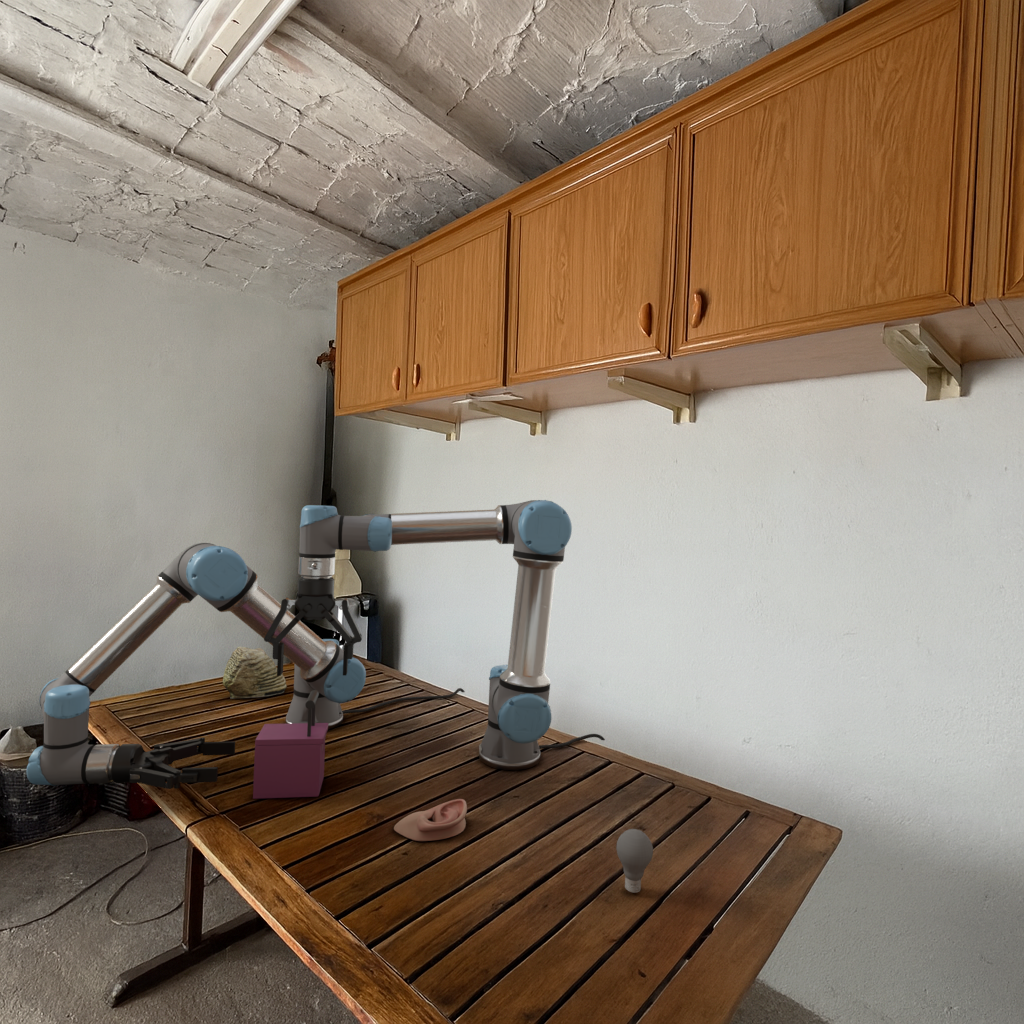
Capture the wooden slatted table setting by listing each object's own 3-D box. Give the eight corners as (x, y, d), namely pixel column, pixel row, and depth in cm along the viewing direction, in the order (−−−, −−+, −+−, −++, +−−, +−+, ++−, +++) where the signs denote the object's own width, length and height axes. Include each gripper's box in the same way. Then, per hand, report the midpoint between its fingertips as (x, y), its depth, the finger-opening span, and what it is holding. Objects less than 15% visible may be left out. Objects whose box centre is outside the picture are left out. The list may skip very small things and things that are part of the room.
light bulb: (610, 879, 108) (613, 822, 108) (644, 879, 109) (647, 822, 109) (619, 902, 102) (622, 840, 102) (655, 901, 103) (658, 840, 103)
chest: (323, 777, 143) (325, 728, 143) (318, 796, 134) (320, 744, 134) (262, 779, 141) (264, 729, 141) (252, 798, 132) (254, 745, 131)
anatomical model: (388, 815, 119) (410, 788, 130) (387, 836, 119) (409, 808, 130) (456, 826, 116) (472, 797, 127) (455, 847, 116) (471, 817, 128)
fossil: (218, 695, 195) (220, 647, 195) (278, 685, 208) (279, 640, 207) (228, 703, 189) (230, 653, 188) (289, 692, 201) (290, 645, 201)
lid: (328, 728, 143) (329, 688, 143) (323, 744, 134) (324, 701, 134) (264, 729, 141) (266, 688, 140) (254, 745, 131) (256, 702, 131)
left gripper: (141, 756, 143) (240, 754, 147) (87, 811, 119) (207, 806, 122) (142, 723, 143) (241, 722, 147) (88, 771, 119) (209, 768, 122)
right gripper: (251, 577, 131) (248, 679, 132) (374, 579, 136) (370, 678, 136) (259, 573, 139) (256, 669, 139) (376, 575, 143) (372, 669, 143)
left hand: (226, 760), depth 135 cm, fingers open, 13 cm apart
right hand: (312, 674), depth 137 cm, fingers open, 13 cm apart
